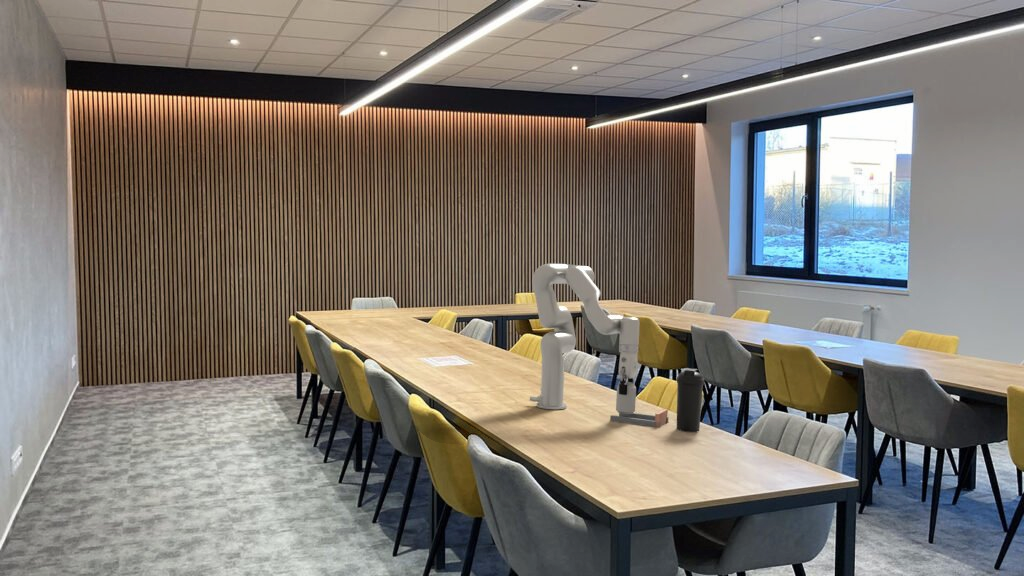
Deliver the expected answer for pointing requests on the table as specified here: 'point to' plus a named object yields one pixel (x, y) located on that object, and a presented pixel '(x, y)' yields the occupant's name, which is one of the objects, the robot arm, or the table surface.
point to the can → (626, 400)
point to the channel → (643, 418)
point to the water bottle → (689, 400)
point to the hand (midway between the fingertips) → (626, 392)
